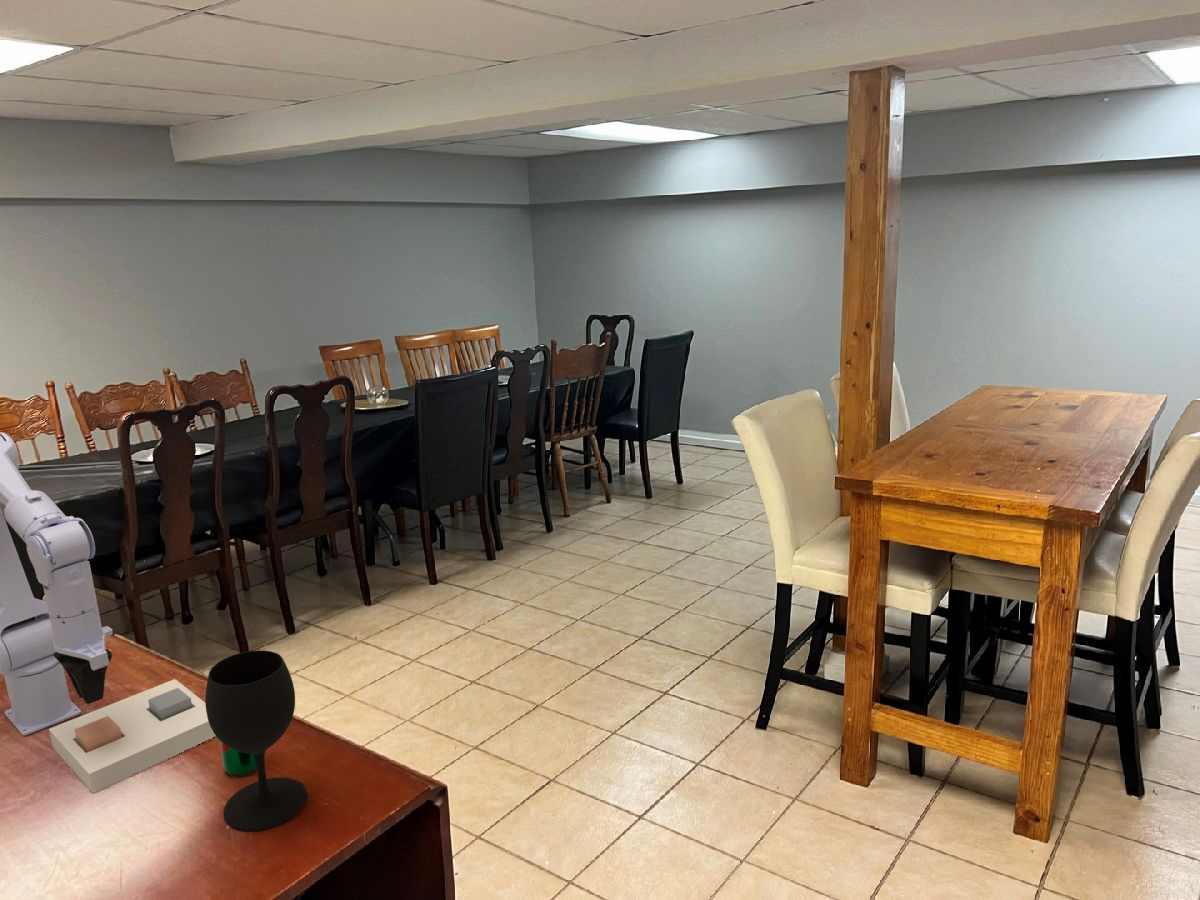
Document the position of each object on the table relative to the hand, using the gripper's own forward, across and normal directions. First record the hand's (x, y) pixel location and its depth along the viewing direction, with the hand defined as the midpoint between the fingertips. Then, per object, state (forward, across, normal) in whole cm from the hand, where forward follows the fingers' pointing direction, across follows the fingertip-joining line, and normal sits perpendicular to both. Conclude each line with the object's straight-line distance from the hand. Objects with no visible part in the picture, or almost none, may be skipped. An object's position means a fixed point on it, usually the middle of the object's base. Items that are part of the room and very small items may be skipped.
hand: (91, 697), depth 122 cm
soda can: (+10, -18, -12) cm, 24 cm away
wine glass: (+10, -28, -10) cm, 31 cm away
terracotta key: (+6, 0, 0) cm, 6 cm away
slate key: (+6, 0, -10) cm, 12 cm away
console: (+9, 0, -5) cm, 11 cm away
